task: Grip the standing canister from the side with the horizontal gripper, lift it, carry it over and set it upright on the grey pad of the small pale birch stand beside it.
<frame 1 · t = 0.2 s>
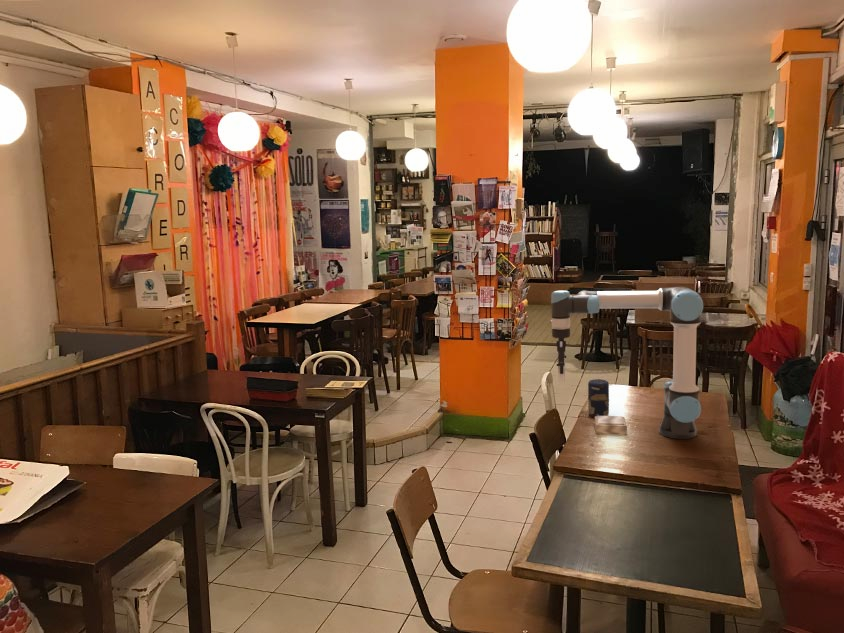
hand: (561, 377, 290), 28 cm above the table, tool pointing down, fingers open, 13 cm apart
canister: (598, 416, 326), on the table
stand: (610, 429, 306), on the table
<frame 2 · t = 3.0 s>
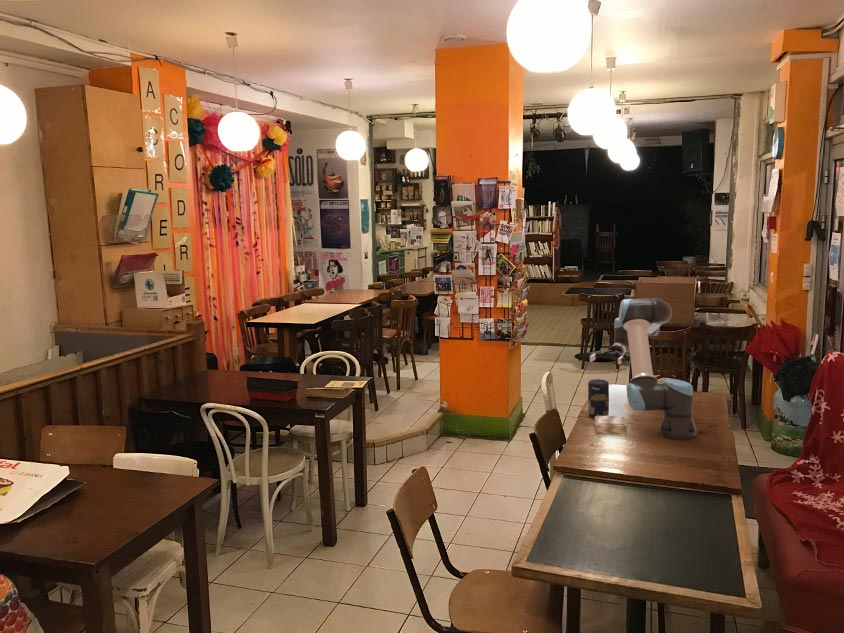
hand: (604, 360, 330), 25 cm above the table, tool horizontal, fingers open, 13 cm apart
nothing on the table moved.
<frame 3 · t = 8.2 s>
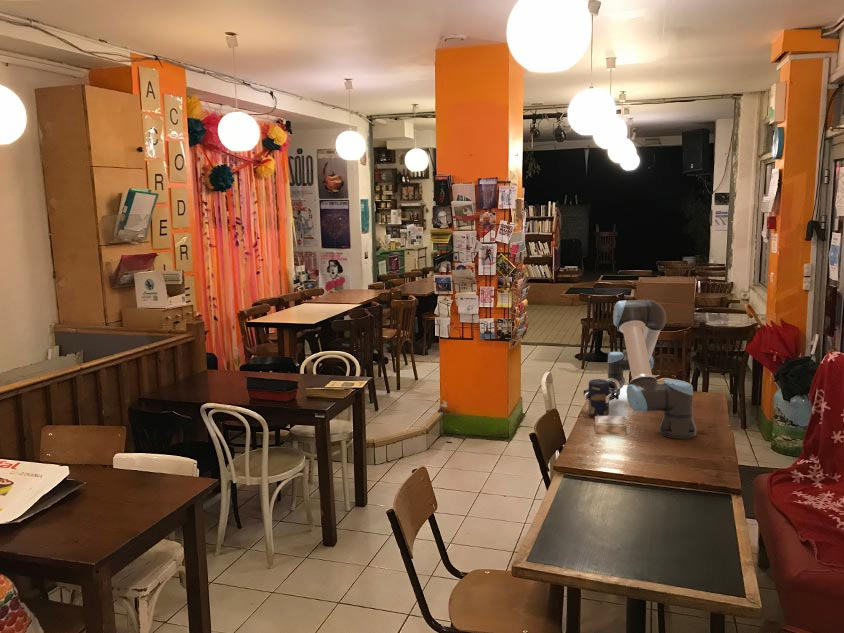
hand: (595, 398, 321), 10 cm above the table, tool horizontal, fingers closed on canister, 9 cm apart
canister: (598, 416, 326), on the table, touching gripper
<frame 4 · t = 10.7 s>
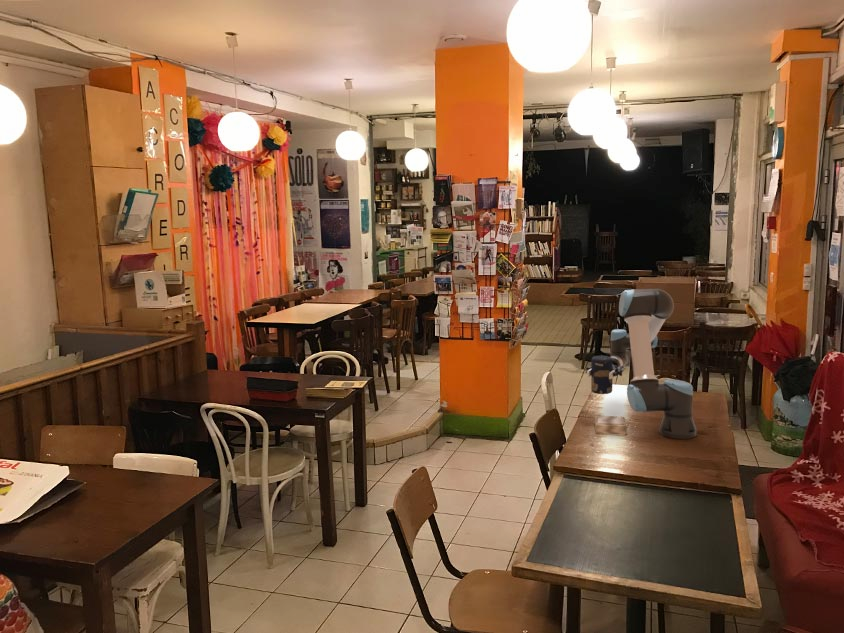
hand: (598, 375, 314), 22 cm above the table, tool horizontal, fingers closed on canister, 9 cm apart
canister: (601, 393, 319), point 12 cm above the table, touching gripper
when the fingers open (16 cm above the table, at t = 13.3 s): canister drops 2 cm, resting on stand.
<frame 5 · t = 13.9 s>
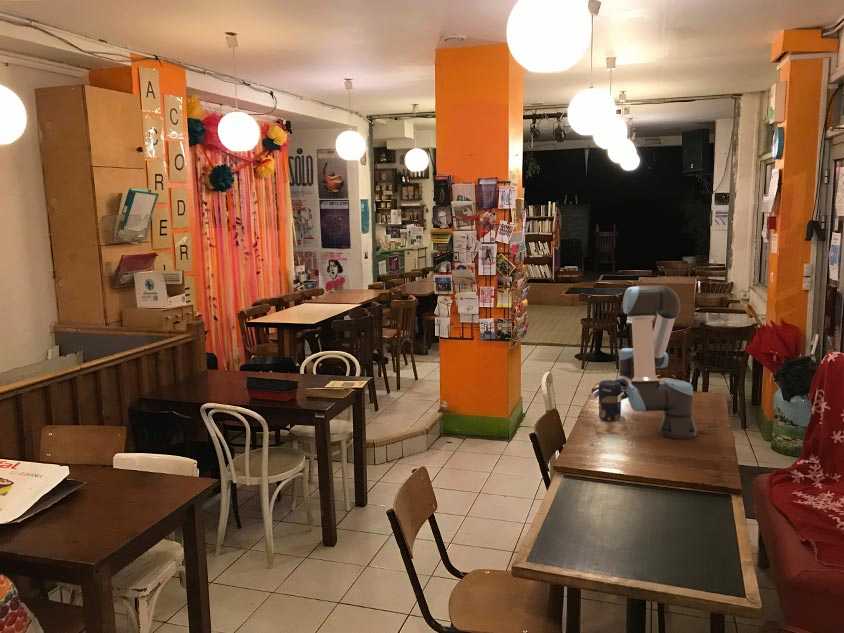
hand: (605, 397, 300), 16 cm above the table, tool horizontal, fingers open, 11 cm apart
canister: (609, 419, 306), point 4 cm above the table, touching stand
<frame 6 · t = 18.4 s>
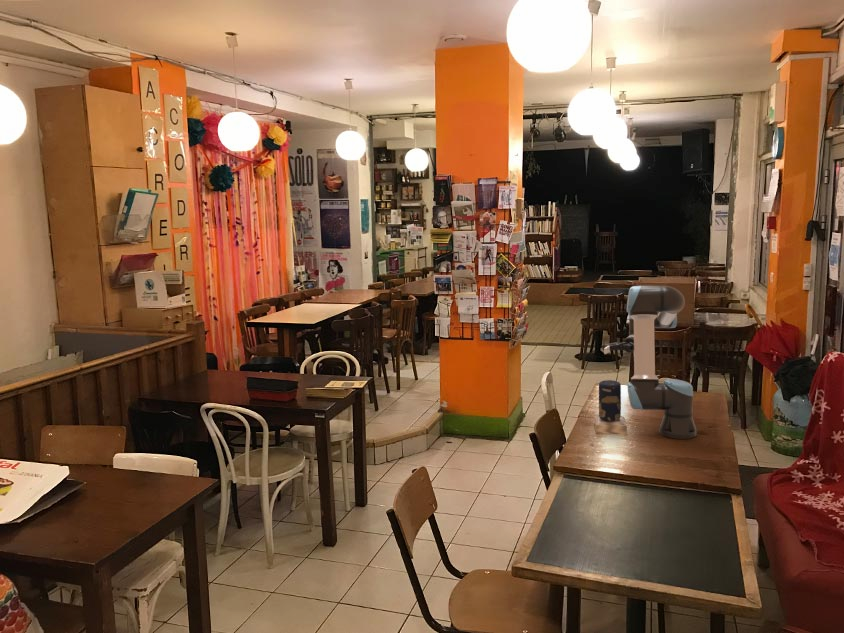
hand: (619, 352, 314), 32 cm above the table, tool horizontal, fingers open, 13 cm apart
nothing on the table moved.
at the end: canister inside the target area on the stand (0.7 cm from its centre), point 4.4 cm above the stand's base; canister tilted 0°; the gripper is holding nothing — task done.
